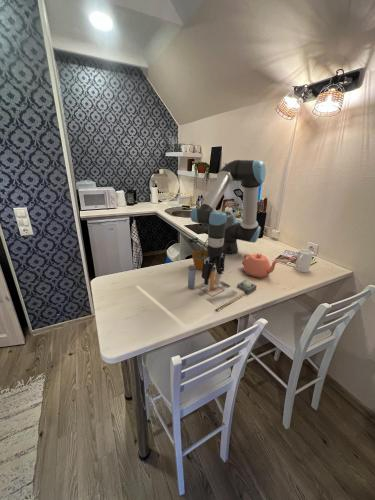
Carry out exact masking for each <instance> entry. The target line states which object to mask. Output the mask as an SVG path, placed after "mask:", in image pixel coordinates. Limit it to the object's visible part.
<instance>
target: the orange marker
mask: <svg viewBox="0 0 375 500" xmlns="http://www.w3.org/2000/svg"><path fill="white" fill-rule="evenodd" d="M215 273H216V266H213V268H212V271H211V274H210V277H209V278H210V290H213V289H214V280H215Z"/></svg>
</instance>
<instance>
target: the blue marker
mask: <svg viewBox="0 0 375 500" xmlns="http://www.w3.org/2000/svg"><path fill="white" fill-rule="evenodd" d="M187 276H188V279H187V287H188V289H189V290H190V289H194V286H195V284H196V267H195V266H194V264H192V265H191V264H190V265H188V275H187Z"/></svg>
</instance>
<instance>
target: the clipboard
mask: <svg viewBox="0 0 375 500" xmlns="http://www.w3.org/2000/svg"><path fill="white" fill-rule="evenodd" d="M204 282H205V279H202V280H200V281H198V282H195V286H194V289H189V288H188V286H186V287H187V288H188V289H189V290H191V292H193V293H195V294H197V295H198V296H200V297H201V298H202V299H205V300H206V301H207V302H209V303H210V304H212V305H213V306H215V307H216V308H215V309H216V310H217V311H218V310H219V309H221V308H223V307H225V306H226V307H228V306H229V305H228V304H230V303H231V304H233V303H234V301H235V300H236V301H238V300H239V298H240V299H241V298H242V296H243V297H245V293H243V292H242V293H240V292H237V291H236V290H234V289H233V288H231V285H230V284H228V283H226V282H224V281H222V280H220V283H219V286H217V285H216V284H214V289H213V290H209V291H208V290H206V289H205V284H204ZM214 283H215V279H214ZM237 299H238V300H237ZM236 301H235V302H236ZM232 302H233V303H232ZM231 304H230V305H231ZM227 305H228V306H227ZM226 307H225V308H226ZM223 309H224V308H223ZM216 310H215V311H216ZM221 310H222V309H221ZM217 311H216V312H217ZM218 312H219V311H218Z"/></svg>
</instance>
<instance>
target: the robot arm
mask: <svg viewBox="0 0 375 500" xmlns="http://www.w3.org/2000/svg"><path fill="white" fill-rule="evenodd" d="M266 171H267V170H266V164H265V162H264V161H263V160H255V159H253V160H250V159H249V160H248V159H236V160H232V161H230V162H228V163H226V164H225V165H224V166H223V167H222V168H221V169H220V170H219V171H218V173H217V176H216V179H215V181H214V183H213V184H212V187H211V188H210V190H209V191H208V193H207V195H206V196H205V198H204V199H203V200H202V203H201V205H200V206H199V207H194V208H192V209H191V212H190V220H191V222H193V223H196V224H198V225H199V224H201V225H206V226H208V228H209V232H208V235H207V239H208V240H207V242H208V243H207V248H206V251H207V252H208V257H207V259H203V269H202V271H201V278H202V280H205V282H204V284H205V289H206V290H208V291H209V290H210V278H209V277H210V274H211V271H212V268H213V267H215V268H216V269H215V279H214V280H215V283H214V284H216V285H217V286H219V283H220V282H221V276H222V275H223V274H224V273H223V272H225V258H226V255H229V256H230V255H236V254H237V253H239V248H238V241H243V242H247V243H256V242H257V240H258V239H259V236H260V234H261V230H262V227H261V226H260V225H259V223H258V222H259V221H257V212H258V211H257V210H258V198H259V188H260V187H261V186H262V184H263V183H264V182H265V180H266V174H267V173H266ZM233 182H240V186H241V187H242V188H243V190H242V191H243V192H242V193H243V194H242V195H243V196H242V221H240V220H239V219H236V215H235V213H234V212H232V211H230V210H227V211H226V210H225V211H221V210H220V211H219V210H216V208H217V206H218V204H219V202H220V201H221V199H222V197H223V195H224V193H225V192H226V190H227V189H228V187H229V185H231V184H232V183H233ZM237 240H238V241H237Z"/></svg>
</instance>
